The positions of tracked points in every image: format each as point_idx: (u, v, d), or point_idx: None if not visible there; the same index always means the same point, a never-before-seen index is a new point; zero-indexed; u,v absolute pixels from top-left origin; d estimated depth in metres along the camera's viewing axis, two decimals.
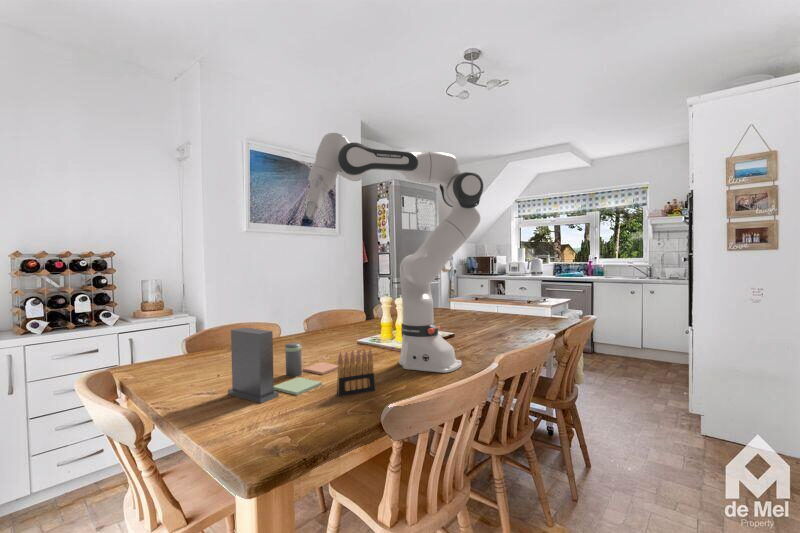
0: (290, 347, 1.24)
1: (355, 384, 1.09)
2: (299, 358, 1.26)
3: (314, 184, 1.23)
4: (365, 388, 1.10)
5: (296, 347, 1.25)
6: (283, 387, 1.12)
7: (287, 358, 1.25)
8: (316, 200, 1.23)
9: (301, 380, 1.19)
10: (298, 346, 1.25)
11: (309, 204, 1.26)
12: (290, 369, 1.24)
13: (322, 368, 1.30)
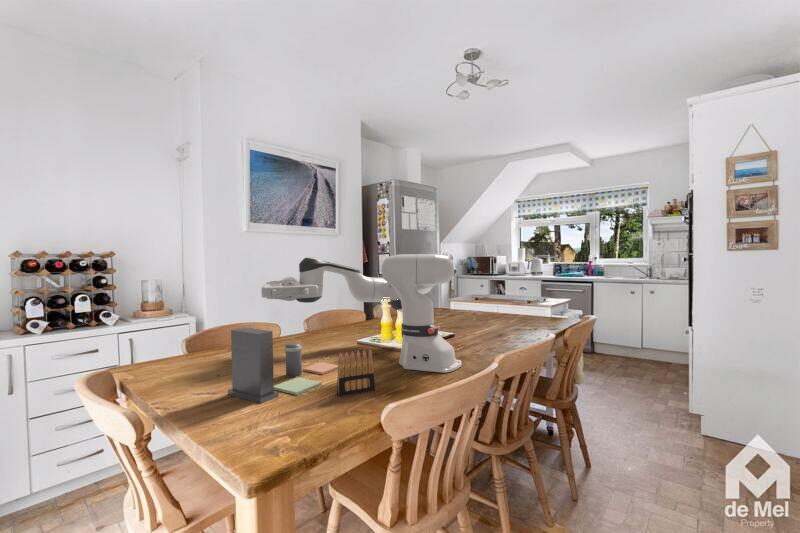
0: (290, 347, 1.24)
1: (355, 384, 1.09)
2: (299, 358, 1.26)
3: None
4: (365, 388, 1.10)
5: (296, 347, 1.25)
6: (283, 387, 1.12)
7: (287, 358, 1.25)
8: (317, 293, 1.46)
9: (301, 380, 1.19)
10: (298, 346, 1.25)
11: (308, 289, 1.43)
12: (290, 369, 1.24)
13: (322, 368, 1.30)
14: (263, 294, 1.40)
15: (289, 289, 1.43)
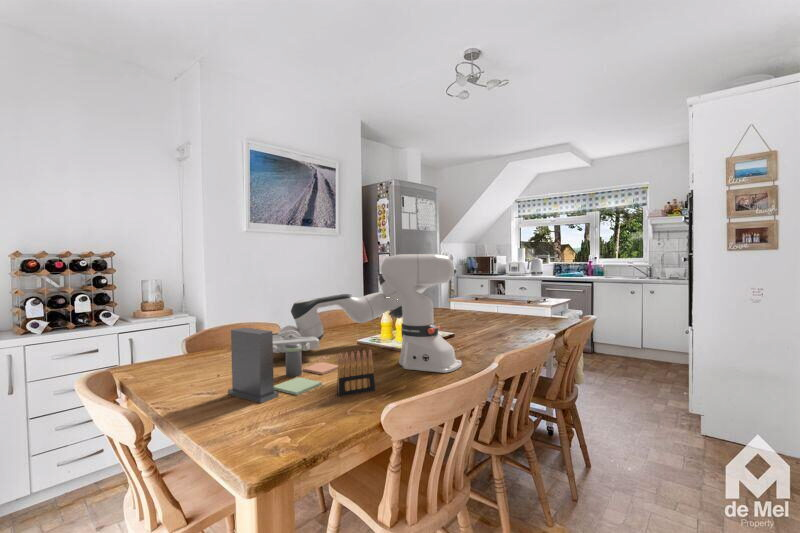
0: (290, 347, 1.24)
1: (355, 384, 1.09)
2: (299, 358, 1.26)
3: None
4: (365, 388, 1.10)
5: (296, 347, 1.25)
6: (283, 387, 1.12)
7: (287, 358, 1.25)
8: (318, 347, 1.45)
9: (301, 380, 1.19)
10: (298, 346, 1.25)
11: (309, 344, 1.42)
12: (290, 369, 1.24)
13: (322, 368, 1.30)
14: None
15: None
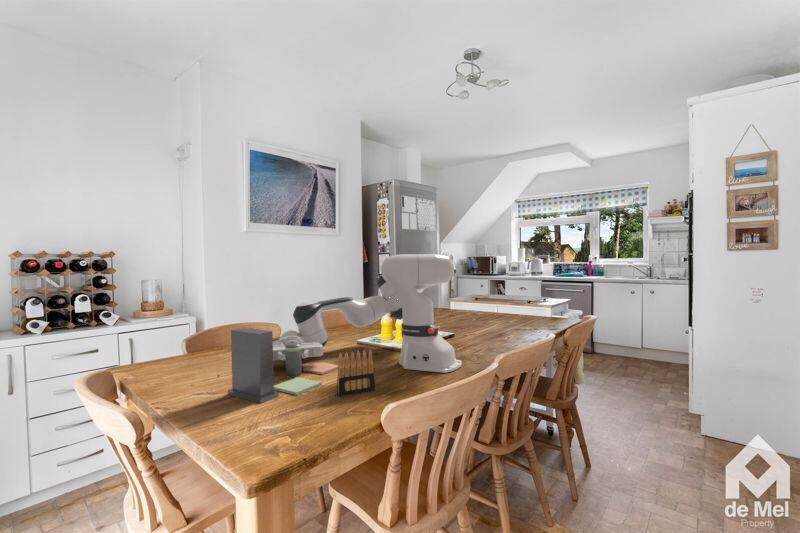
0: (290, 347, 1.24)
1: (355, 384, 1.09)
2: (299, 358, 1.26)
3: None
4: (365, 388, 1.10)
5: (296, 347, 1.25)
6: (283, 387, 1.12)
7: (287, 358, 1.25)
8: (322, 354, 1.34)
9: (301, 380, 1.19)
10: (298, 346, 1.25)
11: (308, 351, 1.31)
12: (290, 369, 1.24)
13: (322, 368, 1.30)
14: None
15: None
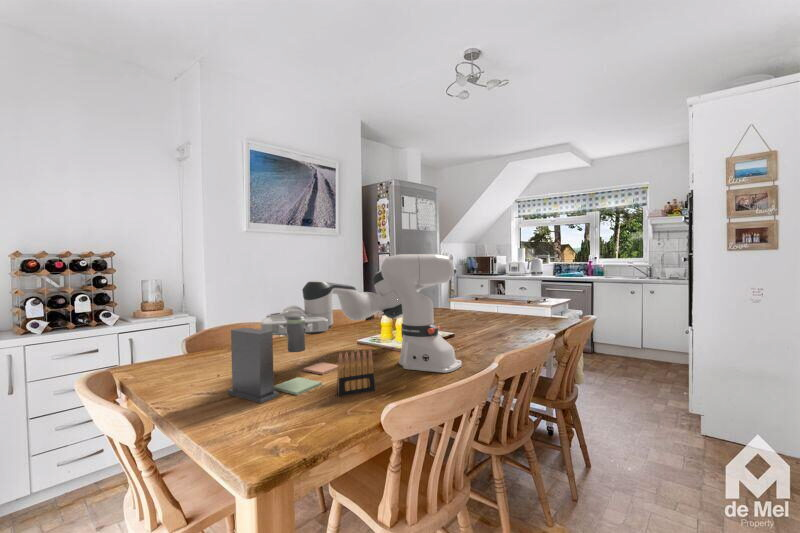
0: (292, 319, 1.12)
1: (355, 384, 1.09)
2: (302, 331, 1.14)
3: None
4: (365, 388, 1.10)
5: (299, 319, 1.13)
6: (283, 387, 1.12)
7: (289, 331, 1.13)
8: (327, 329, 1.22)
9: (301, 380, 1.19)
10: (301, 318, 1.13)
11: (312, 325, 1.19)
12: (293, 343, 1.12)
13: (322, 368, 1.30)
14: None
15: None
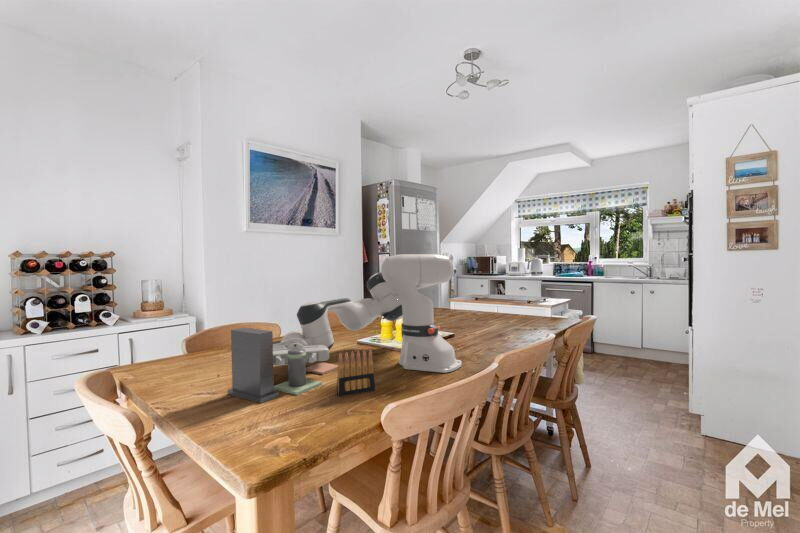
0: (293, 354, 1.12)
1: (355, 384, 1.09)
2: (303, 366, 1.14)
3: None
4: (365, 388, 1.10)
5: (300, 354, 1.13)
6: (283, 387, 1.12)
7: (290, 366, 1.13)
8: (328, 358, 1.22)
9: None
10: (302, 353, 1.13)
11: (316, 354, 1.19)
12: (293, 378, 1.12)
13: (322, 368, 1.30)
14: None
15: None
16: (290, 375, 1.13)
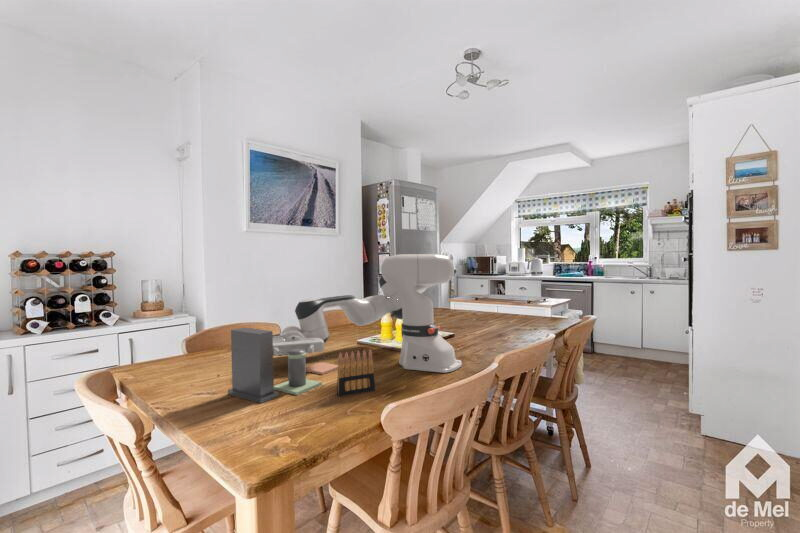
0: (293, 354, 1.12)
1: (355, 384, 1.09)
2: (303, 366, 1.14)
3: None
4: (365, 388, 1.10)
5: (300, 354, 1.13)
6: (283, 387, 1.12)
7: (290, 366, 1.13)
8: (323, 350, 1.33)
9: None
10: (302, 353, 1.13)
11: (314, 346, 1.31)
12: (293, 378, 1.12)
13: (322, 368, 1.30)
14: None
15: (293, 346, 1.30)
16: (290, 375, 1.13)
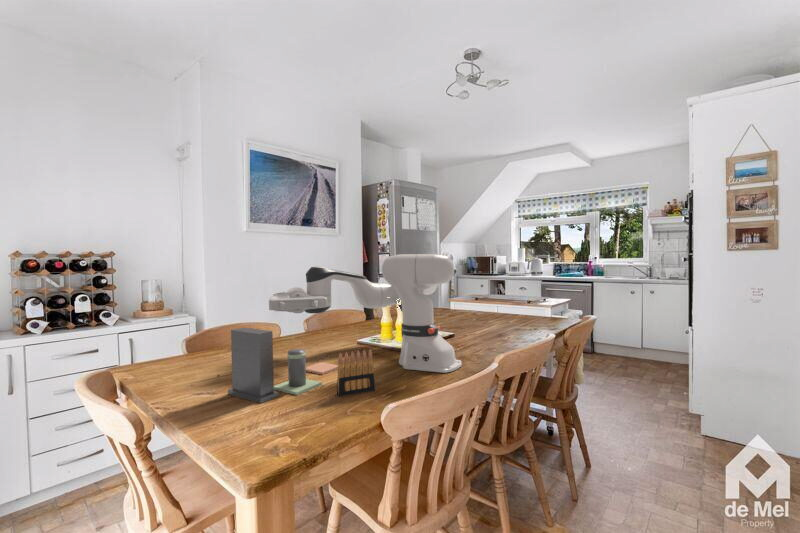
0: (293, 354, 1.12)
1: (355, 384, 1.09)
2: (303, 366, 1.14)
3: None
4: (365, 388, 1.10)
5: (300, 354, 1.13)
6: (283, 387, 1.12)
7: (290, 366, 1.13)
8: (326, 306, 1.40)
9: None
10: (302, 353, 1.13)
11: (317, 301, 1.38)
12: (293, 378, 1.12)
13: (322, 368, 1.30)
14: (270, 307, 1.34)
15: (297, 301, 1.37)
16: (290, 375, 1.13)
